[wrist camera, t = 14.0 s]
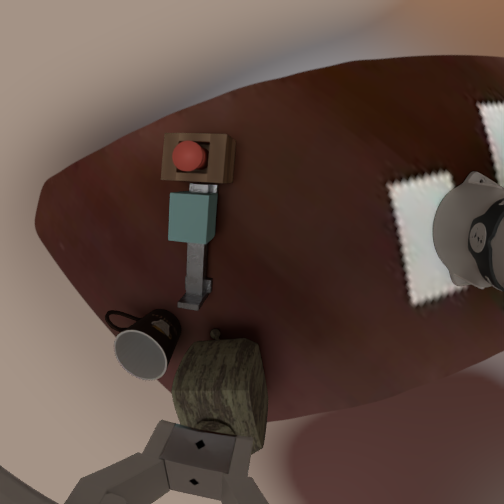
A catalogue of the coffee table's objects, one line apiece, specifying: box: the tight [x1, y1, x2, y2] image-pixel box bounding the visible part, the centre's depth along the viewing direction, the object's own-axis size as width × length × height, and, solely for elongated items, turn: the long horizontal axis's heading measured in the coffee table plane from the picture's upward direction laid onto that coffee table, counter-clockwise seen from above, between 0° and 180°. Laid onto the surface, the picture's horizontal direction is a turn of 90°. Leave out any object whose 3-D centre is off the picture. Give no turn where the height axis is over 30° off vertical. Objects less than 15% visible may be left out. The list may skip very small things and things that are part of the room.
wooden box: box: [161, 133, 236, 183], centre depth 39 cm, size 8×6×7 cm
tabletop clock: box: [172, 329, 268, 454], centre depth 37 cm, size 14×9×25 cm, turn 9°
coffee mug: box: [105, 309, 181, 380], centre depth 45 cm, size 12×9×10 cm
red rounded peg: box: [172, 141, 209, 171], centre depth 36 cm, size 4×4×6 cm
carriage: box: [168, 191, 218, 244], centre depth 40 cm, size 5×6×6 cm
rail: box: [178, 183, 218, 310], centre depth 42 cm, size 4×17×6 cm, turn 175°
